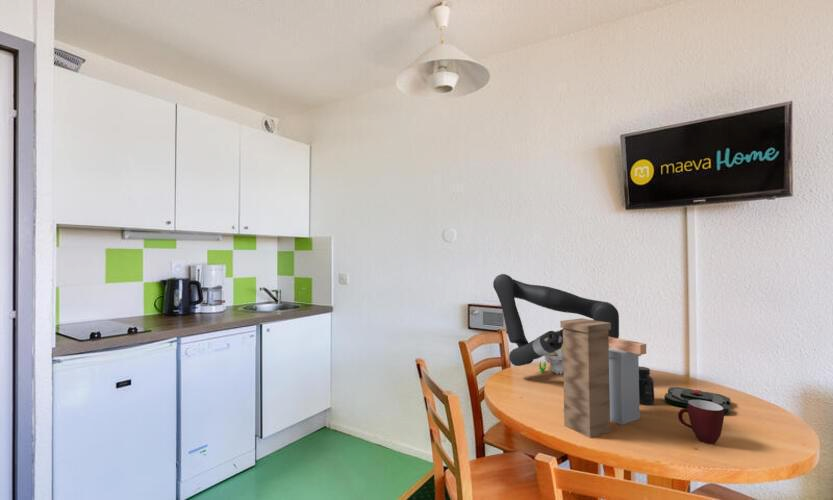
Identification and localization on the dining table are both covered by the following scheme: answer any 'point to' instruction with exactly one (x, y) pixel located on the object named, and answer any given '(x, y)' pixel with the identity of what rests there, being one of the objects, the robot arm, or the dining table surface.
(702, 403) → the mug
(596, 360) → the tall pedestal
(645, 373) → the supplement bottle
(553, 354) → the kitten
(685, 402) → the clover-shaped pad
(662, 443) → the dining table surface
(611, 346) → the terracotta bar
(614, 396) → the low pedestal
